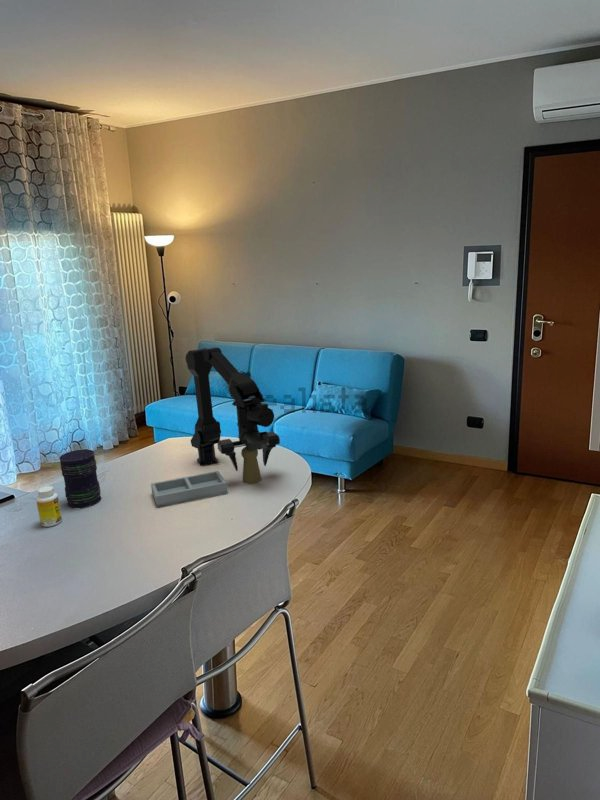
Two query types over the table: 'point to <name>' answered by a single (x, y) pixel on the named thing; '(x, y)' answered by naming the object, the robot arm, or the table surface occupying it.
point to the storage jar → (80, 478)
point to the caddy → (188, 488)
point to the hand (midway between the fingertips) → (250, 468)
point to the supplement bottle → (48, 507)
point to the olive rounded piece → (250, 466)
